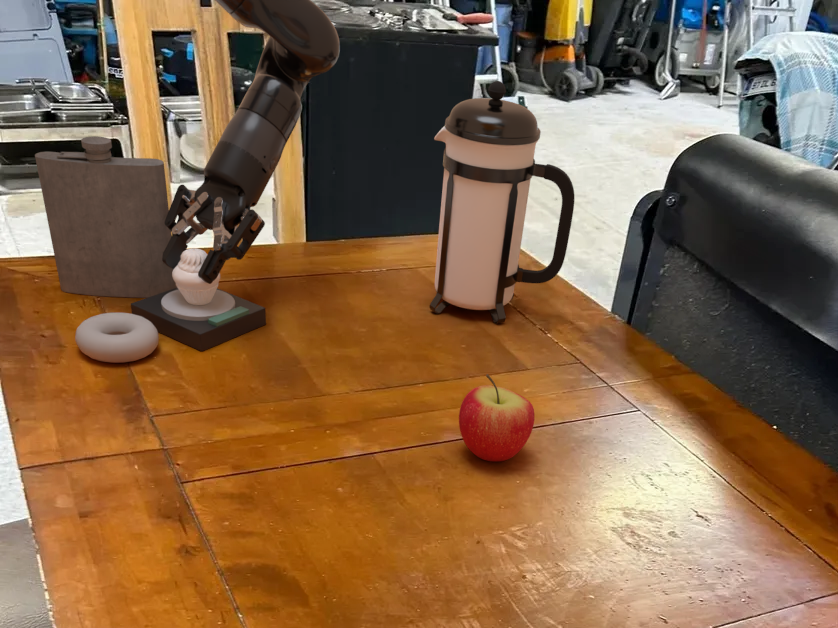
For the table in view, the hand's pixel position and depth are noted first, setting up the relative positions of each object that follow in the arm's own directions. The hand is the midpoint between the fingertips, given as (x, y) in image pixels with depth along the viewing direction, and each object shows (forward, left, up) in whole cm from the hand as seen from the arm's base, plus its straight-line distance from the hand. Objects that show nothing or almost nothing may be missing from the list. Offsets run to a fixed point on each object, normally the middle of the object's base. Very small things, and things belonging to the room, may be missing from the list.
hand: (186, 272), depth 115 cm
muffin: (0, +2, -4) cm, 5 cm away
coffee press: (+24, +36, -7) cm, 44 cm away
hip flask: (-15, +1, -7) cm, 17 cm away
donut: (-1, -11, -7) cm, 14 cm away
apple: (+48, +1, -7) cm, 49 cm away
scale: (0, +2, -7) cm, 8 cm away
